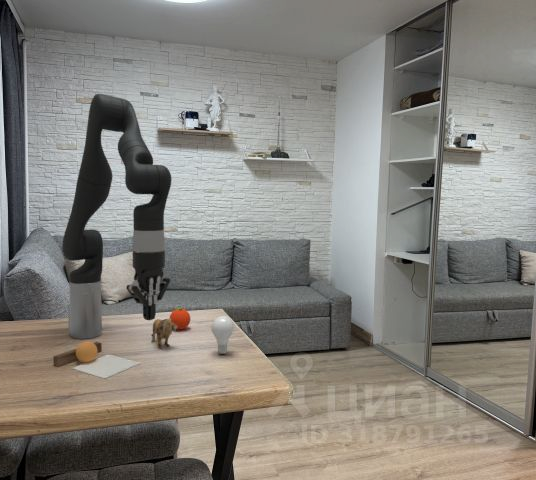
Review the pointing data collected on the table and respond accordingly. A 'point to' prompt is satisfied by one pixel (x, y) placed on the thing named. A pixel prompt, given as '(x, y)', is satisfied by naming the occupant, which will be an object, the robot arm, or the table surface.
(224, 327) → the lightbulb
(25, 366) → the table surface
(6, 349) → the table surface
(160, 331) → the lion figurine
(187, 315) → the tomato
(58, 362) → the strip
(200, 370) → the table surface
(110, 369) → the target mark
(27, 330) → the table surface
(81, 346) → the ball
